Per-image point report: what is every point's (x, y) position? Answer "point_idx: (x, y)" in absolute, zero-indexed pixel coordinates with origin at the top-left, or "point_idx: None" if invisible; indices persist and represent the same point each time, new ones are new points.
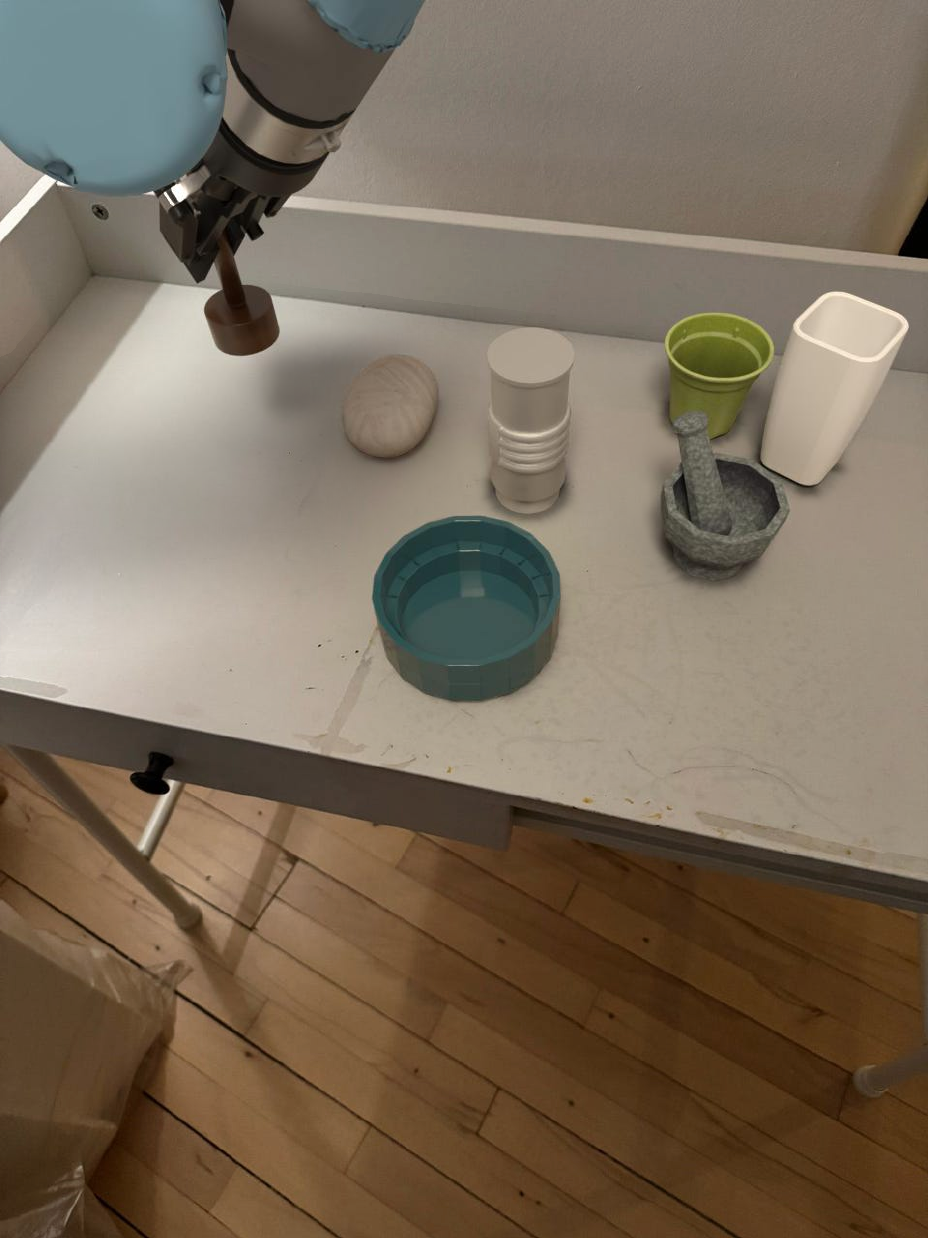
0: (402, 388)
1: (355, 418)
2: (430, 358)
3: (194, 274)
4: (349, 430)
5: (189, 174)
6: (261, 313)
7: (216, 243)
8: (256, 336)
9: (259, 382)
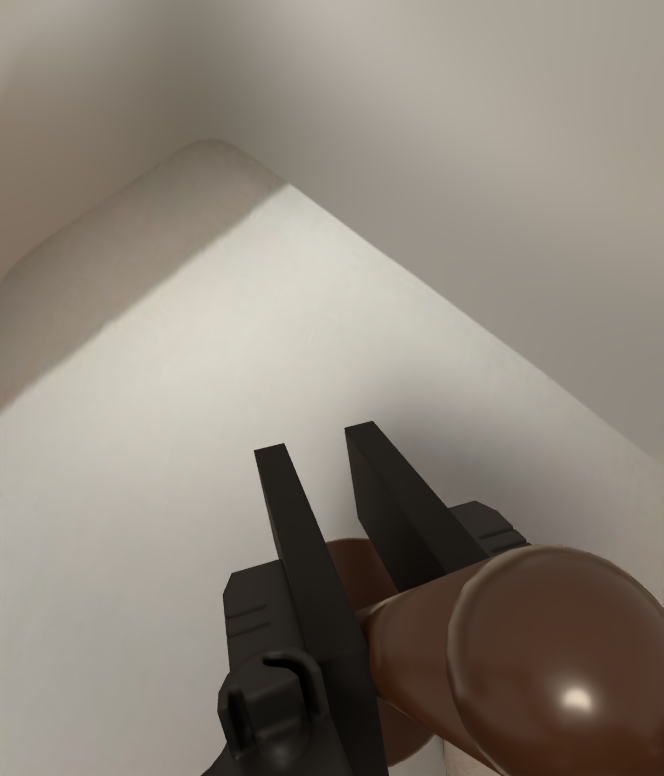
0: None
1: (479, 764)
2: (633, 557)
3: (274, 539)
4: (454, 767)
5: (451, 732)
6: (411, 745)
7: (383, 764)
8: None
9: (346, 457)
